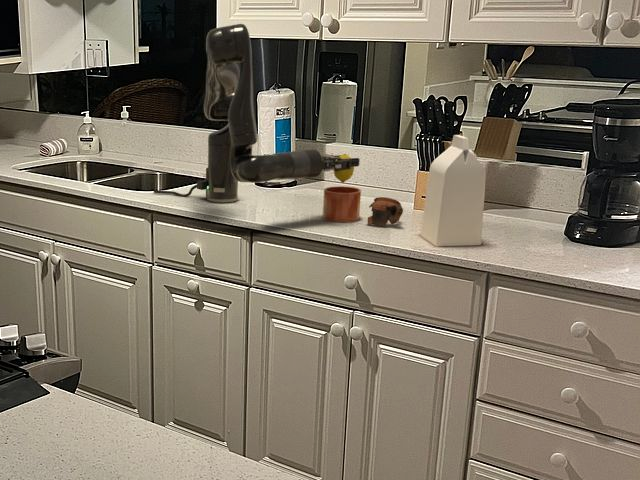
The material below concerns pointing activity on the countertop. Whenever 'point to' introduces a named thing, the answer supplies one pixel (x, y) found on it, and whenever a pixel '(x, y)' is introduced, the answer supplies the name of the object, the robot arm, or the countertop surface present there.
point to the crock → (341, 204)
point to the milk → (454, 197)
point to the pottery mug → (385, 211)
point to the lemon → (344, 171)
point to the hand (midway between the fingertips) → (351, 160)
